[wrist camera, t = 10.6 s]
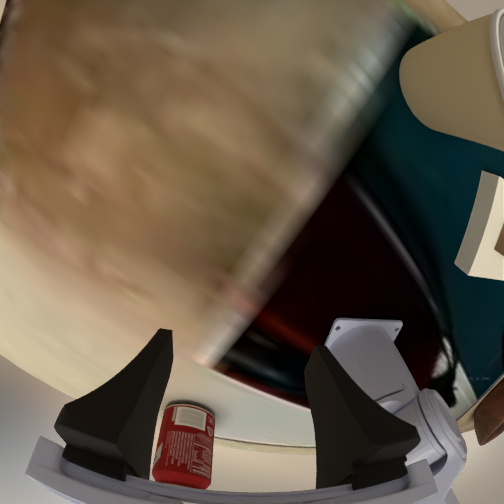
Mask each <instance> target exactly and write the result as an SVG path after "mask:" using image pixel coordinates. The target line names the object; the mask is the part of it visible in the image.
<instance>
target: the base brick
mask: <svg viewBox="0 0 504 504" xmlns="http://www.w3.org/2000/svg"><path fill="white" fill-rule="evenodd" d="M503 225H504V179H503V178H501V177H499V176H497V175H494V174H491V173H488V172H485V171H482V173H481V178H480V183H479V187H478V191H477V195H476V199H475V203H474V206H473V210H472V213H471V217H470V220H469V223H468V226H467V229H466V232H465V235H464V238H463V241H462V244H461V247H460V250H459V252H458V255H457V257H456V260H455V263H454V264H455V265H456V266H458V267H459V268H460V269H461V270H462V271H464V272H465V273H466V274H467V275H469V276H476V277H483V278H490V279H497V280H504V256H502V255H501V254H500V253H498V252H497V251H495V250H494V248H495V246H496V244H497V241H498V238H499V236H500V233H501V230H502V228H503Z"/></svg>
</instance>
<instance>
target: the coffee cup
mask: <svg viewBox="0 0 504 504" xmlns="http://www.w3.org/2000/svg"><path fill="white" fill-rule="evenodd" d="M399 79H400V86H401V90H402V93H403V96H404V98H405V100H406V103H407V104H408V106H409V108H410V110H411V111H412V112H413V114H414V115H415V116H416V117H417V118H418V120H419V121H421V122H422V123H423V124H424V125H425V126H427V127H429V128H431V129H433V130H435V131H439V132H442V133H446V134H449V135H453V136H457V137H461V138H464V139H468V140H471V141H474V142H478V143H481V144H484V145H487V146H490V147H493V148H496V149H499V150H502V151H504V8H501V9H498V10H496V11H495V12H494V13H493V14H489V15H486V16H483V17H480V18H478V19H475V20H472V21H470V22H467V23H464V24H462V25H459V26H457V27H455V28H452V29H450V30H448V31H445V32H443V33H441V34H439V35H437V36H435V37H433V38H430V39H428V40H426V41H424V42H422V43H420V44H418V45H417V46H415V47H413V48H411V49H410V50H409V51H408V52H407V53H406V54H405V55H404V57H403V59H402V61H401V64H400V69H399Z"/></svg>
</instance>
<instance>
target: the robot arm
mask: <svg viewBox="0 0 504 504" xmlns="http://www.w3.org/2000/svg"><path fill="white" fill-rule="evenodd" d="M402 325H403V323H402V321H401V320H376V319H353V318H337V319H336V320H335V321H334V323H333V325H332V328H331V330H330V333H329V335H328V337H327V340H326V342H325V344H324V345H315V347H314V349H313V352H312V354H311V356H310V359H309V361H308V363H307V366H306V368H305V370H304V374H305V385H306V391H307V396H308V400H309V405H310V409H311V414H312V418H313V423H314V429H315V441H316V465H317V473H316V474H317V475H316V489H314V490H304V491H292V492H273V493H272V492H271V493H246V492H225V491H224V492H223V491H212V490H203V489H195V488H188V487H181V486H175V485H170V484H165V483H160V482H155V481H151V480H149V475H150V464H151V455H152V446H153V440H154V433H155V427H156V422H157V416H158V412H159V409H160V405H161V402H162V399H163V396H164V393H165V390H166V386H167V383H168V380H169V377H170V373H171V368H172V363H173V338H172V330H167V329H162V328H160V329H159V330H158V331H157V332H156V334H155V335H154V336H153V337H152V339H151V340H150V341H149V342H148V344H147V345H146V346H145V347H144V348H143V349H142V350H141V352H140V353H139V354H138V355H137V356H136V357H135V358H134V359H133V360H132V361H131V362H130V363H129V364H128V365H127V366H126V367H125V368H124V369H122V370H121V371H120V372H119V373H118V374H117V375H115V376H114V377H113V378H112V379H110V380H109V381H107V382H106V383H105V384H103V385H102V386H100V387H99V388H97V389H95V390H94V391H92V392H90V393H88V394H87V395H85V396H83V397H81V398H79V399H76V400H74V401H72V402H70V403H67V404H65V405H64V407H63V408H62V410H61V412H60V413H59V416H58V418H57V420H56V422H55V425H54V428H55V430H56V432H57V433H58V434H59V435H60V437H61V438H62V439H63V440H64V441H65V442H66V447H65V448H63V447H62V446H60V445H58V444H56V443H54V442H52V441H50V440H48V439H46V438H44V437H42V436H40V437H39V439H38V442H37V444H36V447H35V449H34V452H33V454H32V457H31V459H30V462H29V465H28V467H27V470H26V473H25V474H26V475H27V476H28V477H29V478H31V479H32V480H34V481H35V482H37V483H38V484H40V485H41V486H43V487H45V488H46V489H48V490H49V491H51V492H53V493H55V494H57V495H59V496H61V497H63V498H65V499H67V500H69V501H72V502H74V503H76V504H183V503H182V502H181V501H183V502H190V503H197V504H459V502H458V500H457V498H456V496H455V494H454V492H453V491H452V489H451V487H452V485H453V484H454V482H455V480H456V479H457V477H458V476H459V474H460V472H461V471H462V469H463V467H464V465H465V463H466V455H467V447H466V443H465V440H464V439H463V437H462V435H461V432H460V429H459V427H458V424H457V422H456V420H455V418H454V416H453V414H452V412H451V411H450V409H449V407H448V406H447V404H446V403H445V401H444V400H443V398H442V397H441V396H440V395H439V394H438V393H437V392H436V391H435V390H430V389H426V388H425V389H423V390H422V391H421V392H420V391H419V389H418V387H417V385H416V383H415V381H414V379H413V377H412V375H411V373H410V372H409V370H408V368H407V366H406V364H405V362H404V360H403V359H402V357H401V355H400V353H399V351H398V350H397V348H396V346H395V344H394V343H393V342H394V340H395V338H396V336H397V335H398V333H399V331H400V329H401V327H402ZM338 326H339V327H338ZM336 327H338V328H336Z"/></svg>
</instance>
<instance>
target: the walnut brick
mask: <svg viewBox="0 0 504 504" xmlns="http://www.w3.org/2000/svg"><path fill="white" fill-rule="evenodd" d="M494 250H495V251H497V252H498V253H500V254H501V255H502V256H504V225H503V228H502V230H501V233H500V236H499V238H498V241H497V244H496V246H495V248H494Z"/></svg>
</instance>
